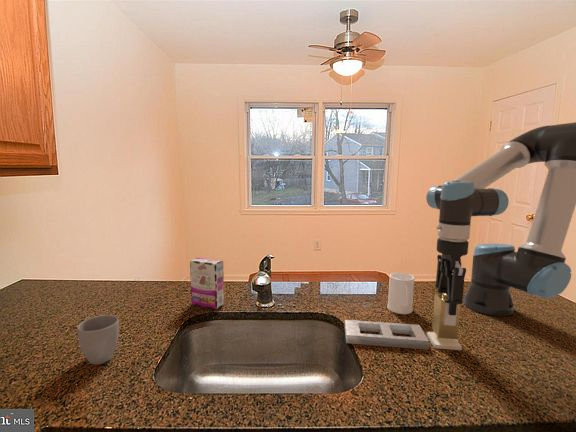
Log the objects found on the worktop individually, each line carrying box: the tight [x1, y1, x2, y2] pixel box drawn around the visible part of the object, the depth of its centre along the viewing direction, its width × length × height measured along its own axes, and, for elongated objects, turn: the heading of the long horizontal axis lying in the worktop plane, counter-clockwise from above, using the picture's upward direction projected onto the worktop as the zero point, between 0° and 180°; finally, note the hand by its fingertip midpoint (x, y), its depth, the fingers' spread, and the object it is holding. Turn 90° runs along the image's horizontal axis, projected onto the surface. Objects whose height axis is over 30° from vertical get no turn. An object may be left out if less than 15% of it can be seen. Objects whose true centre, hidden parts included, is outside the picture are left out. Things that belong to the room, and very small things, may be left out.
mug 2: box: [386, 272, 415, 315], centre depth 106 cm, size 12×8×12 cm
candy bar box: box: [189, 257, 225, 310], centre depth 109 cm, size 11×5×16 cm, turn 68°
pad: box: [426, 331, 463, 351], centre depth 87 cm, size 7×7×1 cm
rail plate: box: [344, 319, 430, 350], centre depth 89 cm, size 22×9×2 cm, turn 83°
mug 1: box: [77, 314, 120, 365], centre depth 79 cm, size 12×9×10 cm
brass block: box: [431, 292, 462, 340], centre depth 86 cm, size 5×5×12 cm
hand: (445, 319), depth 86 cm, fingers closed on brass block, 5 cm apart
